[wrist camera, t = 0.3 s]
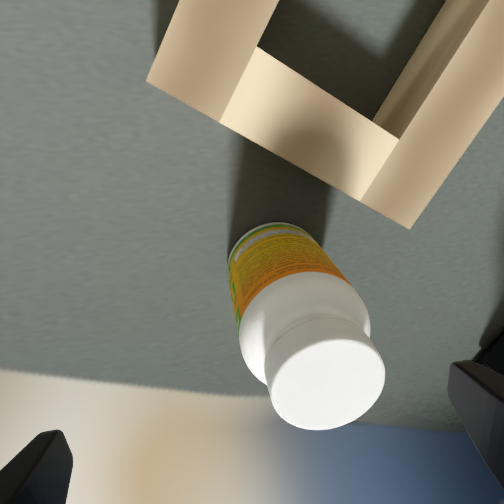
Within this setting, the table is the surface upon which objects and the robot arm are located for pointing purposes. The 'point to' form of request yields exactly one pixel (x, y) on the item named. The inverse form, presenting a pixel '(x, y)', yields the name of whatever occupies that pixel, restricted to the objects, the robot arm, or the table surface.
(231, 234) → the table surface
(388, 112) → the socket block
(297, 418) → the supplement bottle
